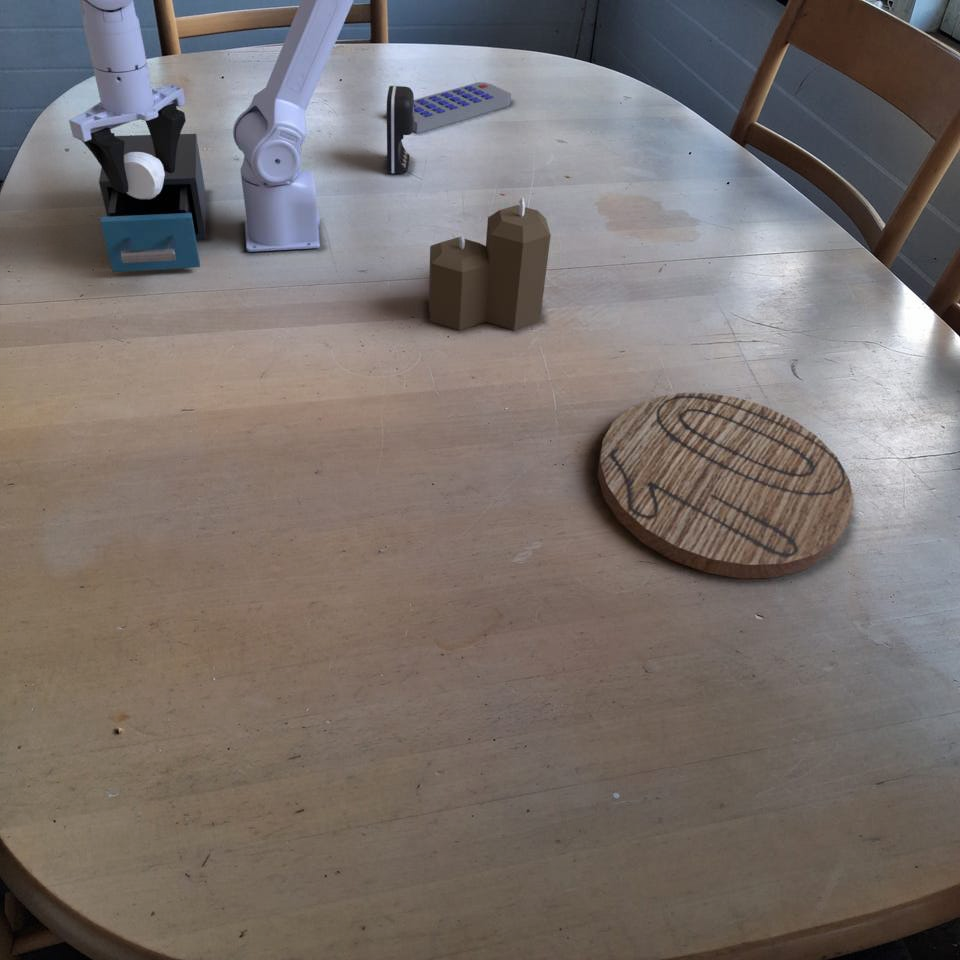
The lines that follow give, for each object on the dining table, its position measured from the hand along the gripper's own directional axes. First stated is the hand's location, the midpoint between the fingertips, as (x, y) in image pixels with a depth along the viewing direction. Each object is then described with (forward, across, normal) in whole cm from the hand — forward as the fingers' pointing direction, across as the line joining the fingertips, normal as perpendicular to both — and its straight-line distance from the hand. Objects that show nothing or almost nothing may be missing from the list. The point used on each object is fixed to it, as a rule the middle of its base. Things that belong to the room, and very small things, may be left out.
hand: (144, 180), depth 109 cm
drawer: (+9, -1, -1) cm, 9 cm away
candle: (+10, +18, -39) cm, 44 cm away
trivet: (+10, +6, -76) cm, 77 cm away
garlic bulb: (+2, 0, 0) cm, 2 cm away
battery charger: (+10, +42, -7) cm, 43 cm away
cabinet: (+10, +7, +8) cm, 15 cm away
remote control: (+10, +64, 0) cm, 65 cm away
